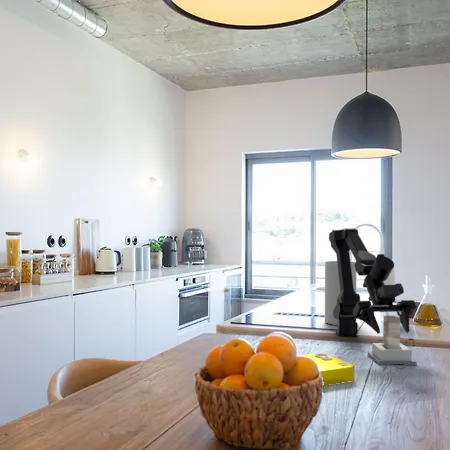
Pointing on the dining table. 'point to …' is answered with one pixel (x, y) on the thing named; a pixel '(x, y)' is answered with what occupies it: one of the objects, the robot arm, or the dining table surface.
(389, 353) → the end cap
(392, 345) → the beige cylinder
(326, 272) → the cylinder vase
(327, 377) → the element tile
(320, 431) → the dining table surface
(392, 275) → the champagne flute
